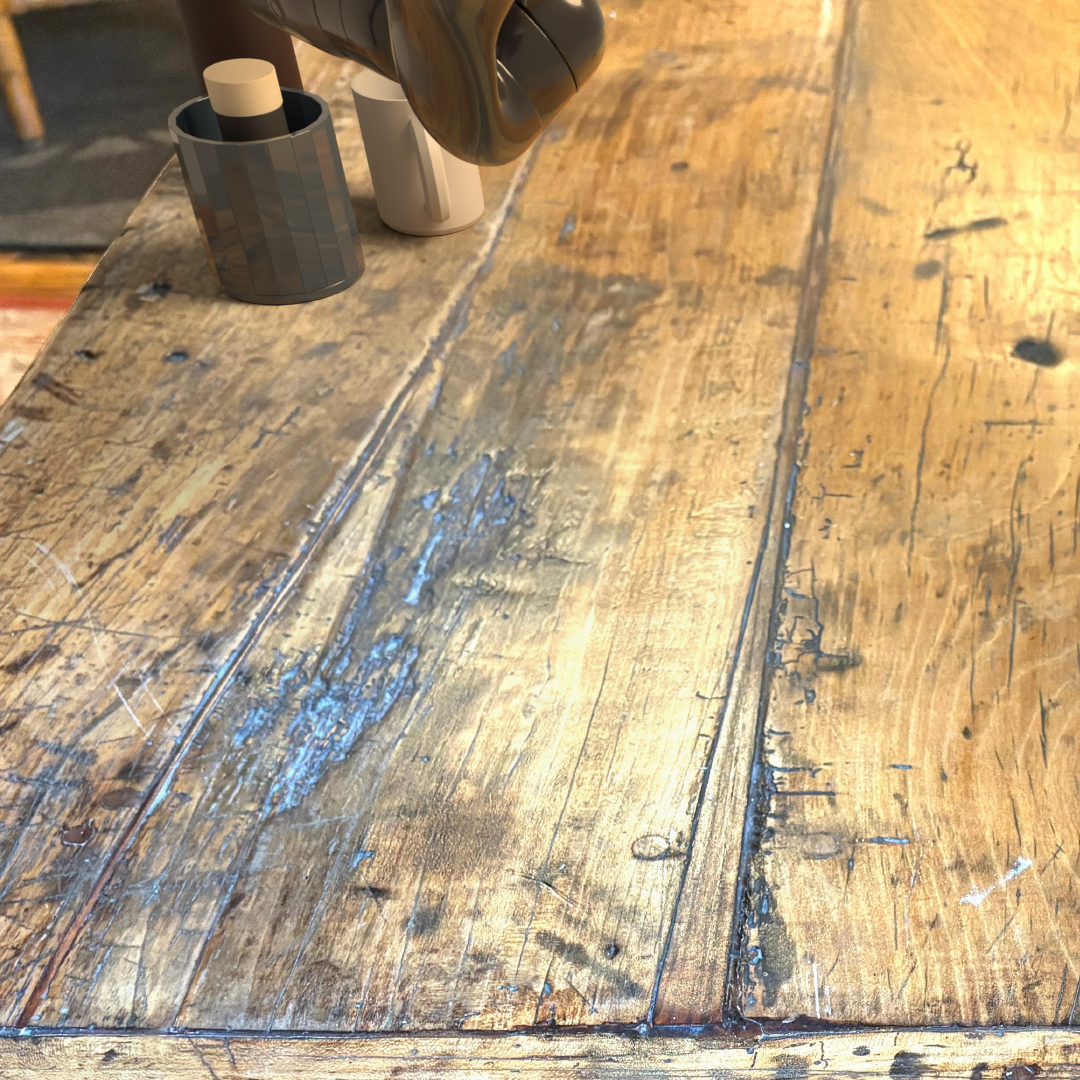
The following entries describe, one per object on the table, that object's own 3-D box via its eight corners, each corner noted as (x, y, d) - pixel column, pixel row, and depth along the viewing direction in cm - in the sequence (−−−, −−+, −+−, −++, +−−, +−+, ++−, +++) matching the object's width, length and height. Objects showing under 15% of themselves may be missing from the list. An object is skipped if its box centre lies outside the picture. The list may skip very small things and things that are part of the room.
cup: (476, 188, 129) (452, 56, 123) (503, 246, 123) (479, 109, 117) (373, 201, 127) (343, 67, 121) (395, 260, 121) (365, 122, 115)
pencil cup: (196, 303, 116) (147, 142, 109) (238, 239, 123) (194, 84, 115) (346, 306, 116) (307, 146, 109) (380, 242, 123) (345, 87, 116)
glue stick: (248, 276, 118) (193, 82, 109) (266, 249, 120) (214, 57, 112) (313, 278, 118) (263, 83, 109) (329, 250, 121) (282, 58, 112)
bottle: (322, 194, 128) (243, -127, 114) (222, 200, 127) (130, -124, 112) (326, 157, 133) (251, -157, 118) (230, 162, 131) (142, -154, 117)
